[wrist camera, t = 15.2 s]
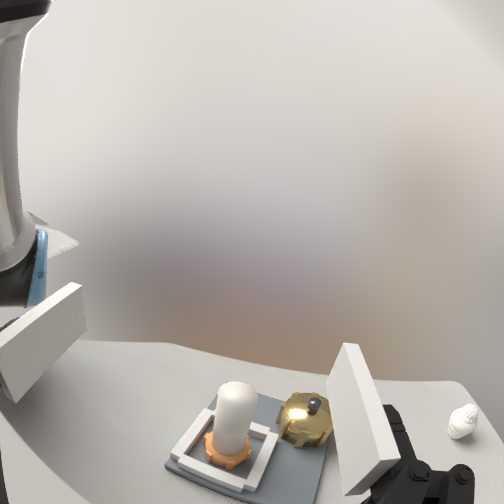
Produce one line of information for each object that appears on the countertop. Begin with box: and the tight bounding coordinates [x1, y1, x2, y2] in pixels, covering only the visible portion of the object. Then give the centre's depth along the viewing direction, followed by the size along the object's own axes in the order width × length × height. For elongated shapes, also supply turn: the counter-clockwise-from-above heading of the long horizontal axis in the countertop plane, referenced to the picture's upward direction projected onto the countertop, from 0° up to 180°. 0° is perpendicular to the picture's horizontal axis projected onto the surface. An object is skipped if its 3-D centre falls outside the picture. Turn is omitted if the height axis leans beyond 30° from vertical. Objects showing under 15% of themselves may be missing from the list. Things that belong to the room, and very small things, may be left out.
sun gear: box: [276, 392, 334, 449], centre depth 33 cm, size 8×8×6 cm
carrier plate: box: [165, 382, 329, 504], centre depth 31 cm, size 18×19×2 cm
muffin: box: [448, 404, 479, 439], centre depth 30 cm, size 6×6×7 cm
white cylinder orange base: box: [203, 381, 258, 470], centre depth 27 cm, size 6×6×12 cm
